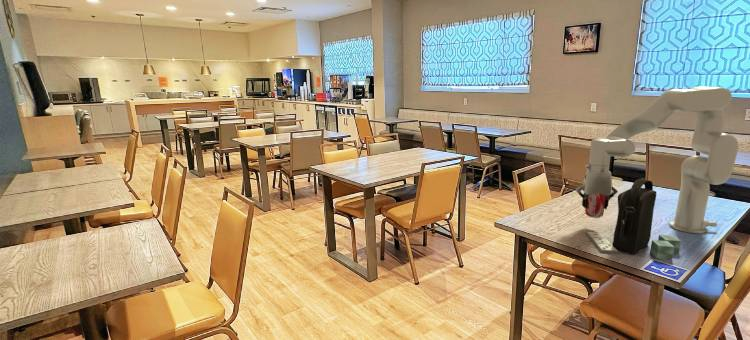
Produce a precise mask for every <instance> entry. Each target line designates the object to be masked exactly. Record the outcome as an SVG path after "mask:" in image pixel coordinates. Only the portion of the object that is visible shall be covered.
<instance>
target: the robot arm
mask: <svg viewBox="0 0 750 340" xmlns="http://www.w3.org/2000/svg"><path fill="white" fill-rule="evenodd" d="M732 100H733V95H732V93H731V91H730V90H729V89H727V88H725V87H721V86H719V87H718V86H713V87H712V86H695V87H691V88H689V89H676V88H675V89H674V88H673V89H668V90H666V91H664V92H663V93H661V94H660V95H659V96H658V97H657V98H656V99H655V100H654V101H653V102H651V103H650V104H649V105H648V106H647V107H646V108H645V109H644V110H642V112H640V113H639V114H638V115H636V116H634V117H632V118H630V119H628V120H627V121H625V122H623V123H621V124H620V125H618V126H617V127H615V128H614V129H613V130H612V131H611V132H609V134H608V135H607V136H606V137H605V138H602V137H601V138H594V139H592V140H591V141H590V147H589V159H588V161H589V162H588V163H587V164H585V165H584V168H585V169H587V170H586V171H585V175H584V178H583V184H581V185H580V186H579V187H576V189H575V192H576V193H577V194H578V195H579V196H580V197H581V198H582V201H581V205H582V207H583V208H584V210H585V209H586V208H587V203H588V200H587V198H588V196H589V195H594V194H596V193H601V194H603V195H605V206H604V210H607V208H608V207H609V201H610V200H611V199H612V198H613V197H614V196H615V195H617V194H618V190H617V189H616V187H613V179H612V178H613V177H612V172H611V171H610V163H611V157H618V158H627V157H630V156H632V155H633V154H634V153H635V151H636V145H635V144H634V142H633V141H632V140H630V139H631V138H632V137H635V136H637V135H640V134H643V133H647V132H652V131H654V130H657V129H659V128H660V127H661V126H662V125H663V124H664V123H665V122H666V121H667V120H668V119H669V118H671V116H673V115H675V113H676V112H677V113H679V112H680V113H695V116H696V117H695V118H696V121H695V126H694V131H693V135H692V139H691V143H690V145H691V149H692V150H693V151H695V152H697V153H699V154H700V153H701V154H703V155H706V156H708V157H706V156H703V155H691V156H688V157H687V158H686V159H684V160H683V162H682V163H681V167H680V173H681V174H680V175H681V178H680V179H681V182H680V188H679V193H678V200H677V205H676V209H675V214H674V215H675V216H674V220H671V221H670V222H669V227H671V228H673V229H675V230H677V231H681V232H684V233H690V234H705V233H707V231H708V227H717V225H718V223H717V222H716V221H710V220H705V216H706V211H707V206H708V201H709V197H710V189H711V188H710V187H711V186H710V185H713V186H714V185H715V186H717V185H718V186H719V185H723V184H724V183H726V182H727V181H728V180H729V179H730V177H731V175H732V173H733V170H734V165H735V162H736V159H737V155H738V152H739V142H738V139H737V138H736V137H735V136H734V135H732V134H729V133H727V132H723V128H724V124H725V112H724V109H725V108H727V107H728V106H729V105H730V104H731V102H732ZM582 192H583V193H582Z"/></svg>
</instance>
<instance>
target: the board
mask: <svg viewBox="0 0 750 340" xmlns="http://www.w3.org/2000/svg"><path fill="white" fill-rule="evenodd" d="M585 234H586V236H587V237H588V239H589V240H591V242H592V243H593V244H594V246H595V247H596V248H597V249H598V251H600V253H602V254H604V253H605V254H618V253H619V251H618V250H616V248H615V247H613V246H612V244H613V243H611V242H610V240H608V238H607V237H606V236H605V235H604V234H603V232H601V231H600V232H596V231H586V232H585Z"/></svg>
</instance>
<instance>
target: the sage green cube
mask: <svg viewBox="0 0 750 340" xmlns="http://www.w3.org/2000/svg"><path fill="white" fill-rule="evenodd" d="M649 252H650V254H651V255H652V256H653V257H654V258H656V259H663V260H673V256H674V254H675V253H674V246H673V245H672V244H670V243H669V242H668V241H658V239H657V240H656V239H652V240H651V244H650V250H649Z"/></svg>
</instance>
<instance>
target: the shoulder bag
mask: <svg viewBox="0 0 750 340" xmlns="http://www.w3.org/2000/svg"><path fill="white" fill-rule="evenodd" d="M643 186H644V187H643ZM653 186H654V185H653V181H652V180H649V179H645V178H643V177H641V178H637V179H636V180H635V181H633V184H632V186H631V188H629V189H627V190H625V191H623V192H620V193H619V194H618V196H617V211H618V212H617V217H616V223H615V228H614V232H613V239H612V243H611V244H612V246H613V247H615V248H616V250H617V251H618V252H621V253H625V254H627V255H632V256H634V255H637V254H638V253H639V252H641V251H643V250H644V249H645V248H648V247H649V243H650V240H651V235H652V227H653V226H652V225H653V218H654V208H655V205H656V198H657V191H656V190H654V187H653Z"/></svg>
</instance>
